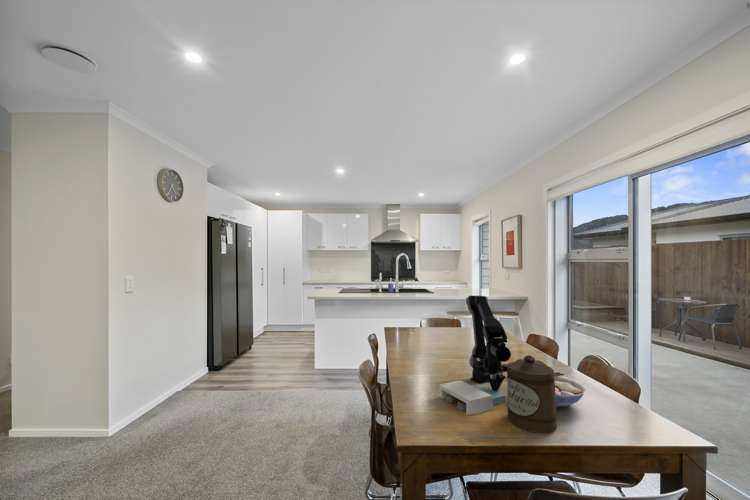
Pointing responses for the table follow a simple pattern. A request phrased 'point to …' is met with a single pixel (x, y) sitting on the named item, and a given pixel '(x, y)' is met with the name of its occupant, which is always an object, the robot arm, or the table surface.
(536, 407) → the wooden container
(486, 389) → the light blue slab
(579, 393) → the ramen bowl
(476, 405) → the white box
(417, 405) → the table surface
